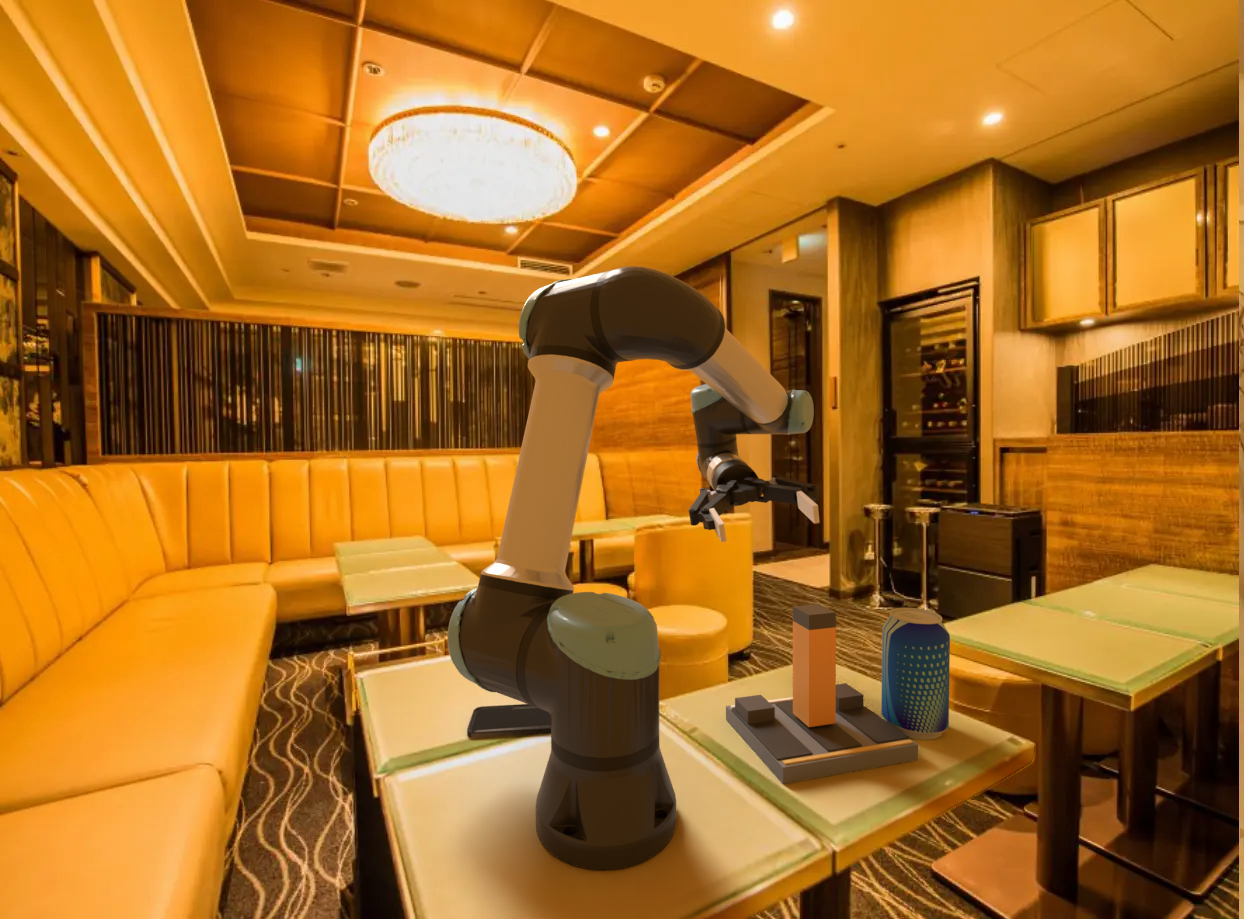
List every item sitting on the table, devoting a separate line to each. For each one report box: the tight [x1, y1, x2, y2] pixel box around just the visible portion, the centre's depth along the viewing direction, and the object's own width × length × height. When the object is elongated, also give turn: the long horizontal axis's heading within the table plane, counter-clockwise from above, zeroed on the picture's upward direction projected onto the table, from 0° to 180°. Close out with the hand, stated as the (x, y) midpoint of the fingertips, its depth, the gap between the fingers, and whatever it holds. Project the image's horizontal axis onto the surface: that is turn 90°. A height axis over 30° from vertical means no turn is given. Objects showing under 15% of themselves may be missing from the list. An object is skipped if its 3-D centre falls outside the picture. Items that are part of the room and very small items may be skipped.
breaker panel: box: [725, 682, 919, 785], centre depth 78 cm, size 19×16×4 cm
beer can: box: [881, 607, 951, 741], centre depth 81 cm, size 8×8×16 cm
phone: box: [466, 703, 551, 739], centre depth 84 cm, size 8×1×15 cm
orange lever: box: [792, 603, 837, 727], centre depth 78 cm, size 4×4×15 cm
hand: (769, 523), depth 82 cm, fingers open, 13 cm apart
